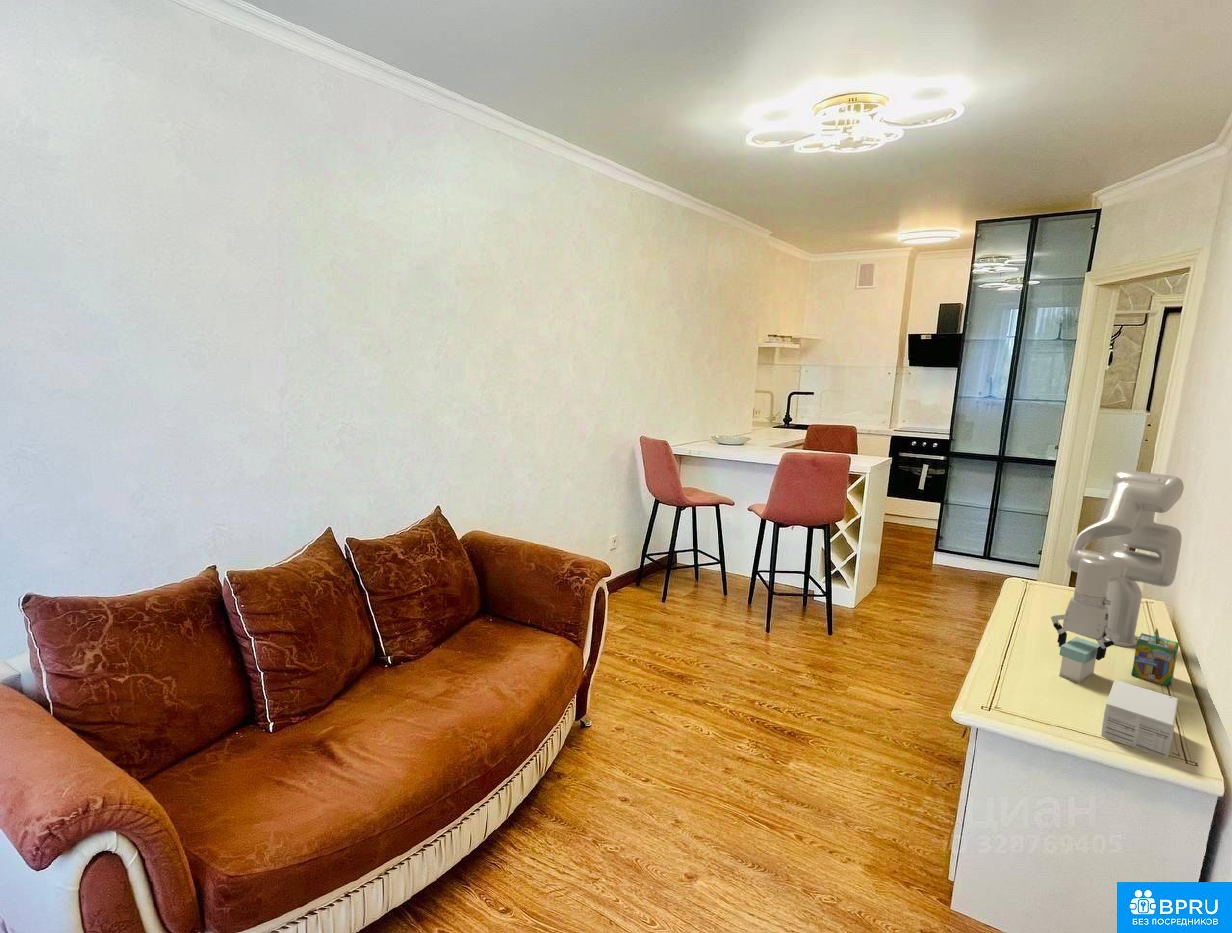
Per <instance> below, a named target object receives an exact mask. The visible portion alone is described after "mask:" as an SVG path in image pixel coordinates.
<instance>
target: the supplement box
mask: <svg viewBox="0 0 1232 933" xmlns="http://www.w3.org/2000/svg"><path fill="white" fill-rule="evenodd" d="M1178 701H1179V698H1177V697H1174V696H1172V695H1168V694H1166V693H1165V694H1164V693H1160V692H1158V691H1154V690H1151V689H1148V688H1147V689H1146V688H1144V687H1141V686H1138V685H1137V686H1136V685H1133V684H1131V683H1127V682H1125V681H1121V680H1116V679H1114V681H1113V683H1112V687H1111V689H1110V692H1109V695H1108V698H1107V700H1106V704H1105V709H1104V712H1103V719H1102V725H1101V726H1102V728H1101V734H1100V736H1101V737H1104V738H1106V739H1108V740H1112V741H1116V742H1118V743H1120V744H1124V745H1126V746H1129V747H1132V748H1135V749H1138V750H1140V751H1143V752H1145V753H1149V754H1152V755H1154V756H1157V757H1160V758H1163V759H1166V760H1168V759H1169V755H1170V751H1171V746H1172V742H1173V741H1172V740H1173V737H1174V731H1175V724H1176V712H1177V707H1178V703H1179V702H1178Z"/></svg>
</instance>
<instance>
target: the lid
mask: <svg viewBox="0 0 1232 933" xmlns="http://www.w3.org/2000/svg"><path fill="white" fill-rule="evenodd" d="M1098 647H1100V645H1099V644H1098V642H1097V643H1096V642H1094V641H1090V640H1088V639H1085V638H1082V637H1078V636H1076V637H1074V638H1072V639H1071V640H1068V641H1066V643H1065V644H1063V645H1061V647H1059V648H1060V649H1059V656H1061V657H1062V656H1064V657H1066V658H1069V659H1072V660H1075V661H1078V662H1080V663H1083V664H1086V663H1087V662H1089V661H1090V660H1092V659H1094V658H1095V657H1096V655H1097V650H1098Z"/></svg>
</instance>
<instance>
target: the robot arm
mask: <svg viewBox="0 0 1232 933" xmlns="http://www.w3.org/2000/svg"><path fill="white" fill-rule="evenodd" d="M1112 483H1113V486H1112V488H1111V491H1110V493H1109V496H1108V498H1107V501H1106V504H1105V507H1104V510H1103V512H1102V514H1101V518H1100V519H1099V521H1097V522H1095V523H1093V524H1090V525H1089V526H1087V527H1085V528H1084V529H1083V530H1081V531H1080V532H1079V533H1078V534H1077V536H1075V538H1074V539H1073V542H1072V544H1071V547H1070V550H1069V552H1068V556H1067V558H1066V564H1067V567H1068V569H1069V570H1071V571H1072V572H1075V573H1077V575H1076V579H1075V580H1076V581H1075V588H1074V591H1073V597H1071V598H1070V600H1069V601H1068V605H1067V607H1066V610H1065V613H1064V614H1058V615H1052V616H1051V617H1050V619H1051V622H1052V624H1053V628H1054V629H1055V630H1056V632H1057V634H1058V638H1057V643H1058V647H1059V648H1061V645H1063V644H1065V643H1067V636H1068V634H1067V631H1068V632H1070V633H1074V634H1076V635H1078V636H1082V637H1086V638H1087V639H1092V640H1094V641H1096V642H1097V644H1099V645H1100V647H1098V650H1097V655H1096V661H1100V660H1103V659H1104V658H1105V657H1106V655H1107V654H1106V653H1107V648H1109V647H1112V646H1113V645H1116V646H1118V647H1119V646H1120V647H1124V648H1125V647H1126V648H1134V647H1135V648H1136V644H1137V640H1138V639H1139V638H1138V637H1136V630H1137V624H1138V619H1139V614H1140V610H1141V604H1142V597H1143V594H1142V590H1141V587H1140V586H1139V585H1138V583H1137V582H1140V583H1144V584H1148V585H1151V586H1156V587H1162V588H1165V587H1171V585H1172V584H1173V583H1174V581H1175V579H1176V575H1177V570H1178V562H1179V559H1180V553H1181V547H1182V539H1183V538H1182V533H1181V531H1180V530H1179V529H1178V528H1177V527H1175V526H1172V525H1167V524H1163V523H1162V524H1161V523H1157V522H1155V515H1156V513H1160V514H1163V513H1167V512H1168V511H1169V510H1171V509H1172V508H1173V507H1174V506H1175V505H1176V503H1177V502H1178V501H1179V500H1180V499H1181V497H1182V495H1183V492H1184V486H1185V485H1184V481H1183V480H1182V479H1181V478H1180V477H1178V476H1173V475H1169V474H1159V473H1152V472H1145V471H1138V470H1126V469H1125V470H1119V471H1116V472H1115V473H1114V474H1113V477H1112ZM1116 536H1117V541H1118V543H1119V544H1120V545H1121V546H1125V547H1128V548H1131V549H1136V550H1141V551H1145V552H1150V553H1156V554H1157V555H1158V556H1157V555H1153V554H1148V553H1145V552H1144V553H1142V552H1139V551H1134V550H1129V549H1115V550H1112V551H1111V552H1110V553H1109V554H1106V553H1103V552H1098V551H1094V550H1089V549H1085V548H1086V547H1087V546H1088V545H1089V544H1090V543H1092V542H1093V541H1096V540H1099V539H1102V538H1103V539H1105V538H1110V537H1111V538H1112V537H1116ZM1060 620H1063V621H1062V625H1061V623H1060V622H1059V621H1060Z"/></svg>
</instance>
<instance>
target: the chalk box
mask: <svg viewBox="0 0 1232 933" xmlns="http://www.w3.org/2000/svg"><path fill="white" fill-rule="evenodd" d="M1137 639H1138V640H1137V644H1136V646H1135V651H1134V659H1133V664H1132V670H1131V677H1135V678H1139V679H1143V680H1146V681H1150V682H1153V683H1156V684H1160V685H1162V686H1166V687H1169V686H1170V687H1171V686H1172V684H1173V679H1174V673H1175V667H1176V662H1177V656H1178V651H1179V647H1180V643H1179V642H1177V641H1174V640H1170V639H1167V638H1164V637H1160V634H1159V628H1157V627H1156V628H1155V631H1154V635H1151V634H1146V633H1143V632H1142V633H1141V634H1140V636H1139V637H1138V638H1137Z"/></svg>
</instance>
